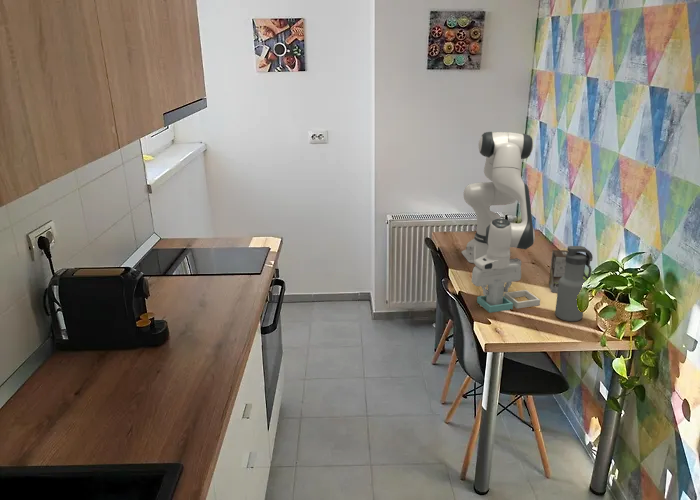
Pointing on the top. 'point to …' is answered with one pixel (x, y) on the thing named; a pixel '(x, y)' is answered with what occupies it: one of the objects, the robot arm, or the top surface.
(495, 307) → the shallow square trays
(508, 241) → the robot arm
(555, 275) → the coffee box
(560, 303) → the water bottle
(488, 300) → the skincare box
